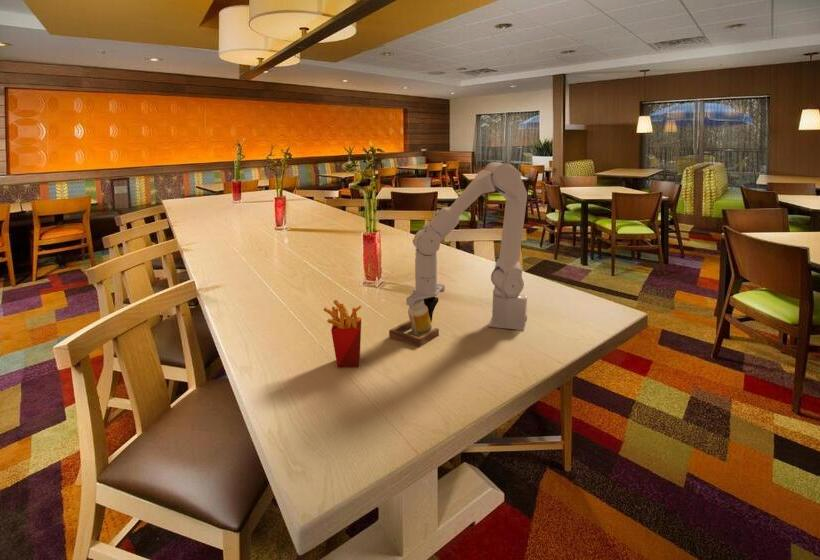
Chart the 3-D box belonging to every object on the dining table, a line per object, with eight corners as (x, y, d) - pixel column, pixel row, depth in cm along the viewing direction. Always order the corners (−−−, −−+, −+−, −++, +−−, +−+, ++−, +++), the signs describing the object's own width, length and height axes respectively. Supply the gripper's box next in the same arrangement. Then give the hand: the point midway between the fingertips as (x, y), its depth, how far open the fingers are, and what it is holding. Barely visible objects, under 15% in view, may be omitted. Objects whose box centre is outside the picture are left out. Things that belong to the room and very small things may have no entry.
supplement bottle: (408, 333, 130) (401, 303, 125) (421, 322, 133) (414, 293, 129) (424, 338, 127) (417, 308, 122) (436, 327, 130) (429, 297, 125)
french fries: (364, 355, 116) (361, 297, 112) (362, 372, 108) (359, 309, 104) (327, 357, 116) (323, 298, 112) (322, 373, 108) (318, 310, 104)
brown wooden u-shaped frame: (408, 327, 133) (408, 320, 132) (438, 335, 127) (438, 328, 126) (389, 337, 126) (389, 330, 126) (419, 346, 121) (419, 339, 120)
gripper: (430, 266, 135) (430, 311, 139) (396, 279, 124) (398, 327, 128) (451, 270, 130) (450, 317, 135) (418, 284, 120) (418, 334, 124)
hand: (426, 322), depth 131 cm, fingers closed, pressing on supplement bottle
